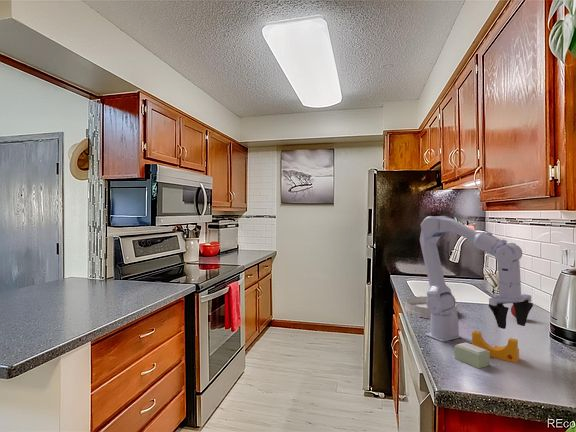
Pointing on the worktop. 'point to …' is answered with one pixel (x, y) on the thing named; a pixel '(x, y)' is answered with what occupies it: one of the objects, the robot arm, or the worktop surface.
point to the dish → (420, 307)
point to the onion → (513, 311)
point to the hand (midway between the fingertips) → (511, 326)
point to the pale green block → (472, 355)
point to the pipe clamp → (498, 348)
